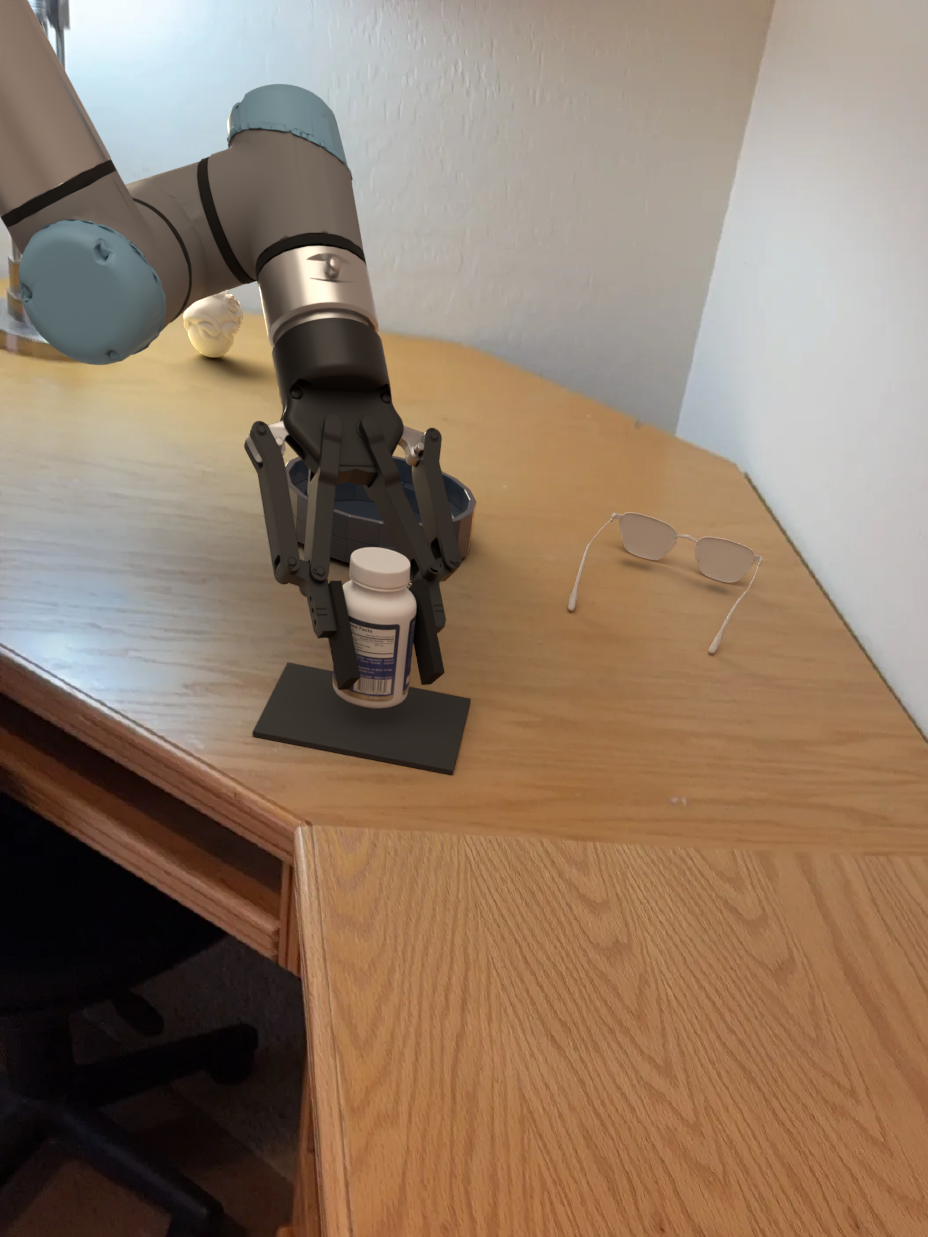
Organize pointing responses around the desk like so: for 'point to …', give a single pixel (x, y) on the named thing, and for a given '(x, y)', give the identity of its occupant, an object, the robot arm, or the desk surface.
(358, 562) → the pill bottle
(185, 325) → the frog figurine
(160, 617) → the desk surface
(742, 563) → the eyeglasses
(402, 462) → the bowl
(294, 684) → the mat
